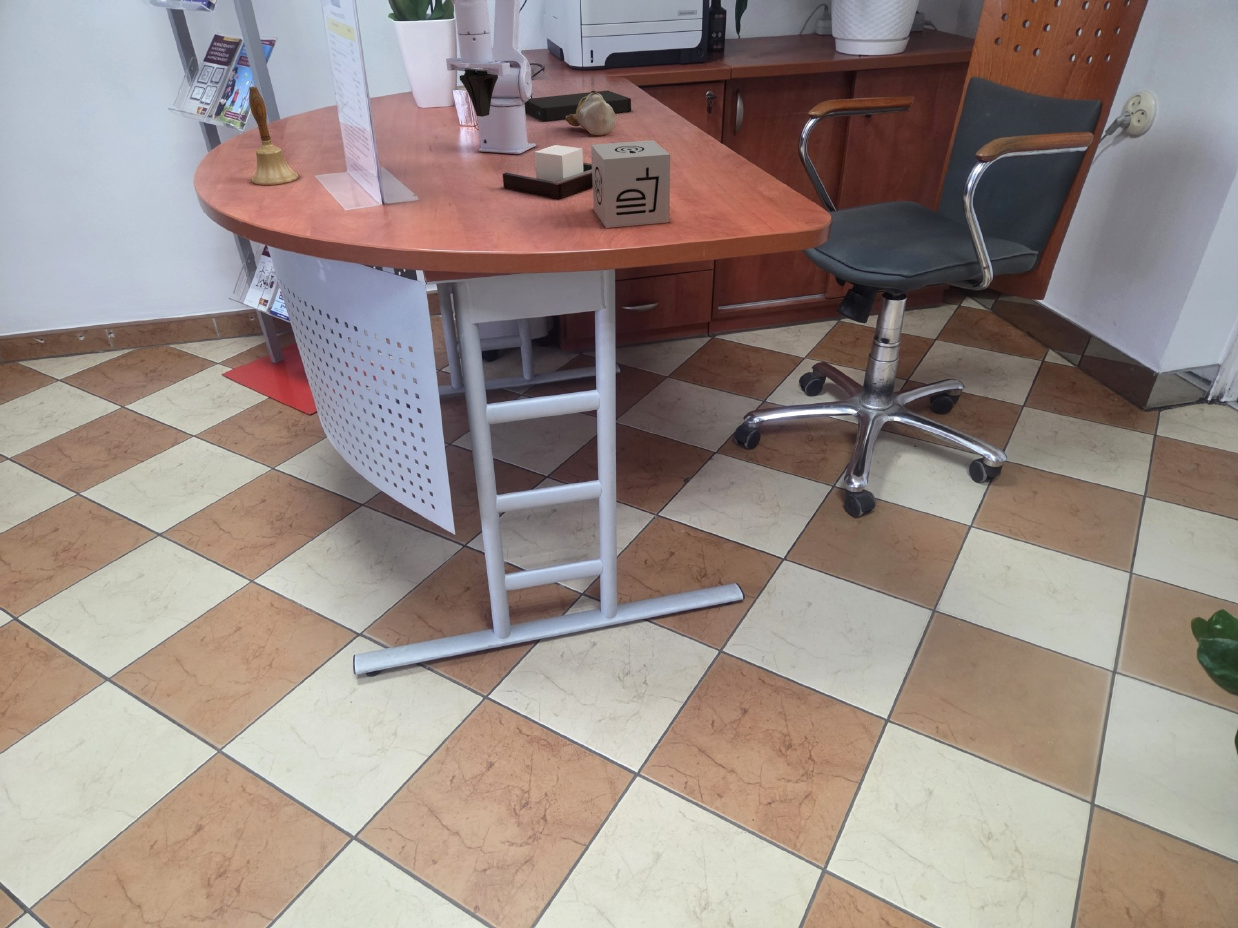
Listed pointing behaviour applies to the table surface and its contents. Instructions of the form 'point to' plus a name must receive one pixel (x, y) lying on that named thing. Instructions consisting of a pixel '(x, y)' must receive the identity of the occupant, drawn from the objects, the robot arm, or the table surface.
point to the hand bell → (268, 148)
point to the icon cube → (631, 183)
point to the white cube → (558, 162)
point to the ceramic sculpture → (593, 115)
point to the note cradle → (550, 184)
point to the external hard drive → (571, 105)
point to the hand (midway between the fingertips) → (483, 115)
